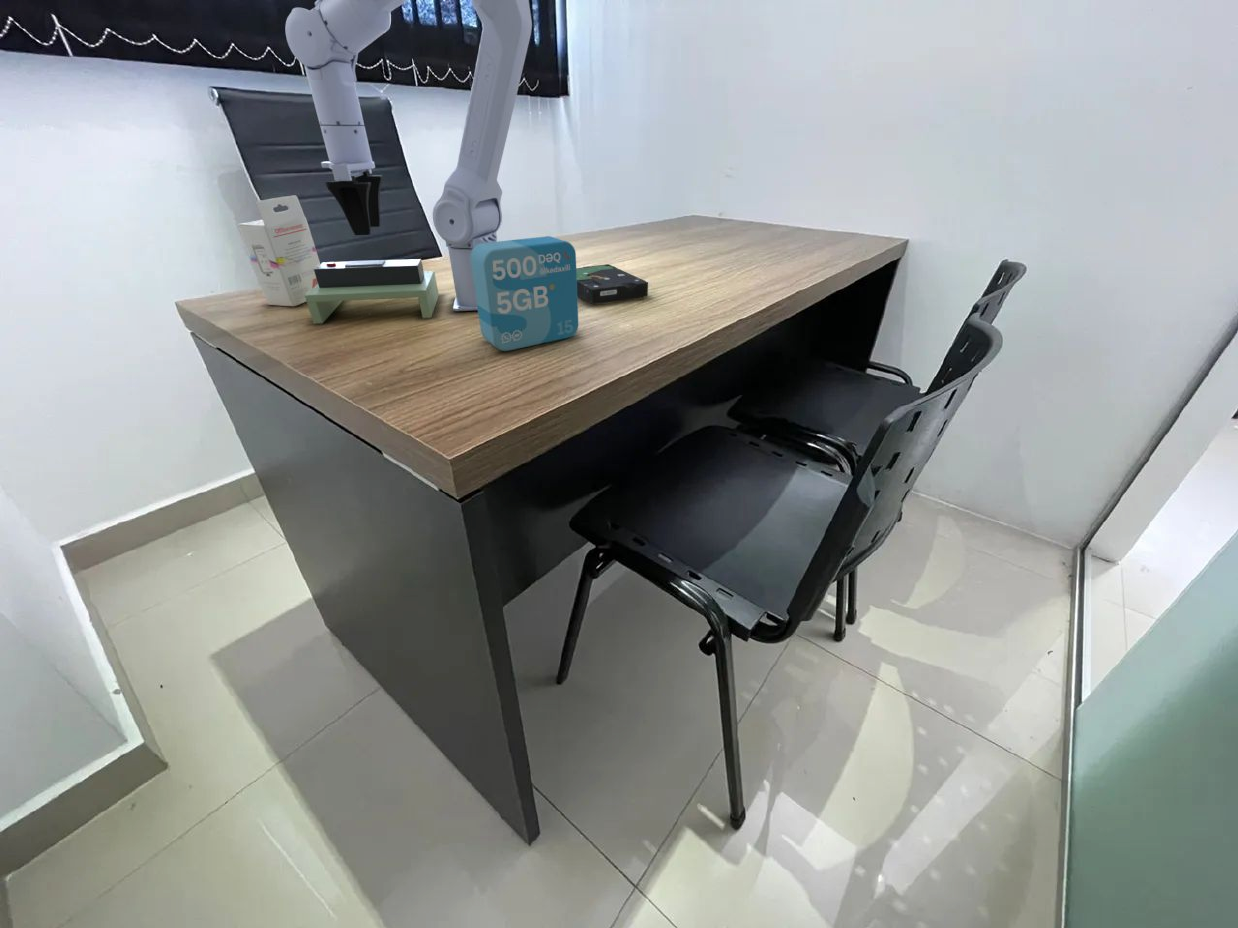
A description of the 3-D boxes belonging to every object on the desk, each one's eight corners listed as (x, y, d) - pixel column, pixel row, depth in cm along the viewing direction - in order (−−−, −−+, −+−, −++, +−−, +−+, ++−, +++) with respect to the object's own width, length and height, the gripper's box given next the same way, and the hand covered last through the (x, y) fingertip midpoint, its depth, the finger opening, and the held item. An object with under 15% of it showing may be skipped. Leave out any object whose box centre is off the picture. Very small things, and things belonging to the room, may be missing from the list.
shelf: (438, 295, 85) (434, 270, 83) (431, 317, 75) (425, 290, 73) (335, 300, 82) (328, 274, 80) (313, 324, 72) (304, 295, 70)
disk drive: (649, 299, 84) (608, 278, 95) (650, 282, 83) (608, 262, 94) (592, 307, 80) (556, 284, 91) (592, 289, 79) (555, 268, 89)
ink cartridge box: (304, 291, 87) (272, 193, 79) (330, 293, 86) (300, 194, 78) (265, 305, 80) (226, 200, 72) (293, 307, 79) (256, 201, 71)
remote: (424, 276, 79) (420, 257, 78) (421, 283, 76) (416, 263, 74) (327, 280, 77) (321, 260, 75) (319, 288, 73) (312, 267, 72)
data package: (495, 354, 63) (482, 250, 56) (481, 343, 66) (467, 244, 60) (579, 336, 69) (576, 240, 62) (563, 327, 72) (558, 234, 65)
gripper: (326, 125, 77) (351, 224, 85) (295, 125, 65) (327, 239, 73) (375, 126, 78) (396, 223, 86) (353, 125, 67) (379, 238, 74)
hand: (368, 230), depth 79 cm, fingers open, 7 cm apart
